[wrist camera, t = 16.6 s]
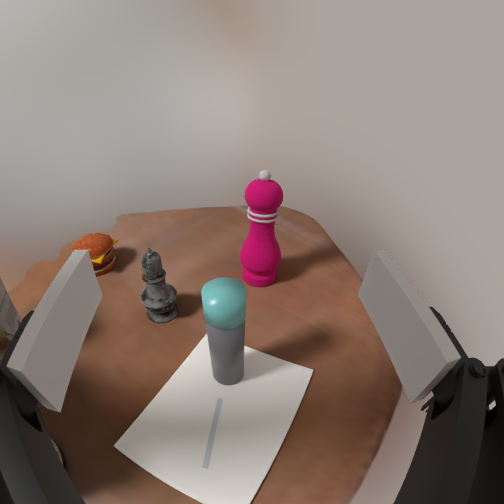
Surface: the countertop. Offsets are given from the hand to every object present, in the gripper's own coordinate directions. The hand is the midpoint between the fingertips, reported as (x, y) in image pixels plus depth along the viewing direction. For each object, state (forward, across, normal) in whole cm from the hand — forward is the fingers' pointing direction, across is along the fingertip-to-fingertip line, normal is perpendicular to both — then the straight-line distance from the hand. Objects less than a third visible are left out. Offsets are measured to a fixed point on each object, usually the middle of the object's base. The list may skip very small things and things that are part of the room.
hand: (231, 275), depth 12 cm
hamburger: (+35, -28, -25) cm, 51 cm away
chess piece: (+22, -10, -24) cm, 34 cm away
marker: (+10, 0, -24) cm, 25 cm away
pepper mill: (+30, +6, -24) cm, 39 cm away
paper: (+4, -1, -24) cm, 24 cm away
